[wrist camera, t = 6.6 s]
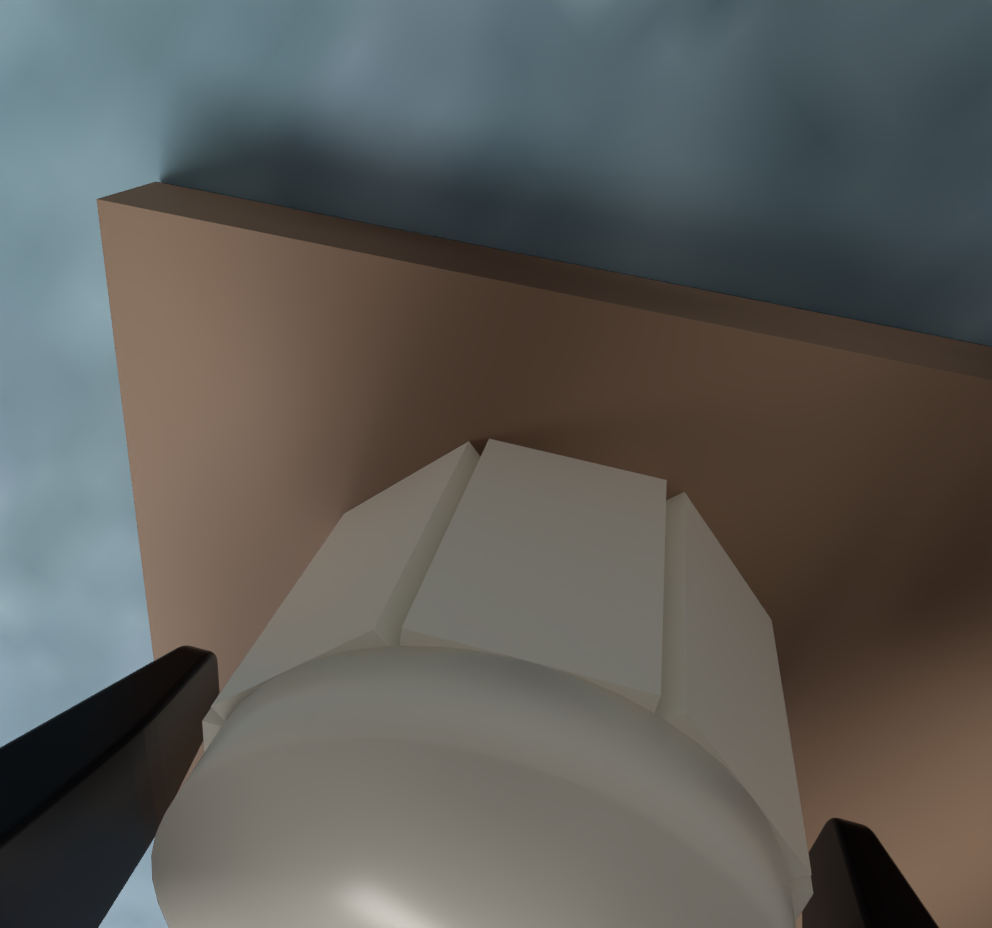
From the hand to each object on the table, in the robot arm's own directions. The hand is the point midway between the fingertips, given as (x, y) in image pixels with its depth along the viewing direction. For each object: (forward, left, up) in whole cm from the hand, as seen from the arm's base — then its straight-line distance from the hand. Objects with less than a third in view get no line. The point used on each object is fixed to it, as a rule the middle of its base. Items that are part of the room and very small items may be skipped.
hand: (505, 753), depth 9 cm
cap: (0, 0, -2) cm, 2 cm away
